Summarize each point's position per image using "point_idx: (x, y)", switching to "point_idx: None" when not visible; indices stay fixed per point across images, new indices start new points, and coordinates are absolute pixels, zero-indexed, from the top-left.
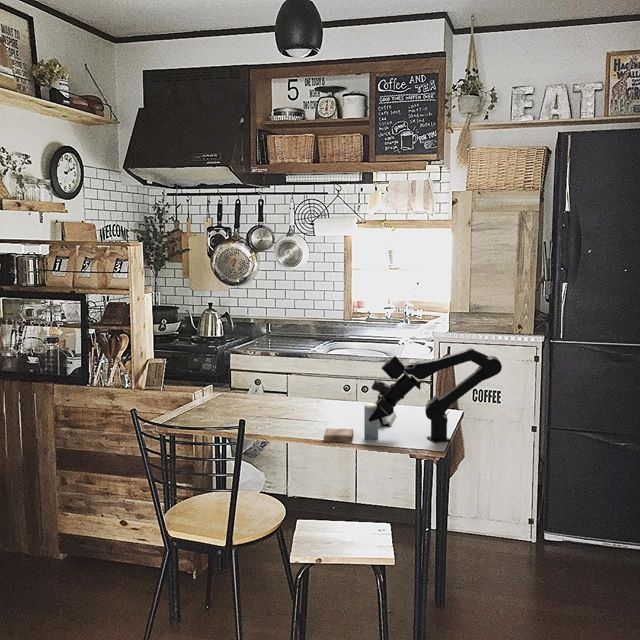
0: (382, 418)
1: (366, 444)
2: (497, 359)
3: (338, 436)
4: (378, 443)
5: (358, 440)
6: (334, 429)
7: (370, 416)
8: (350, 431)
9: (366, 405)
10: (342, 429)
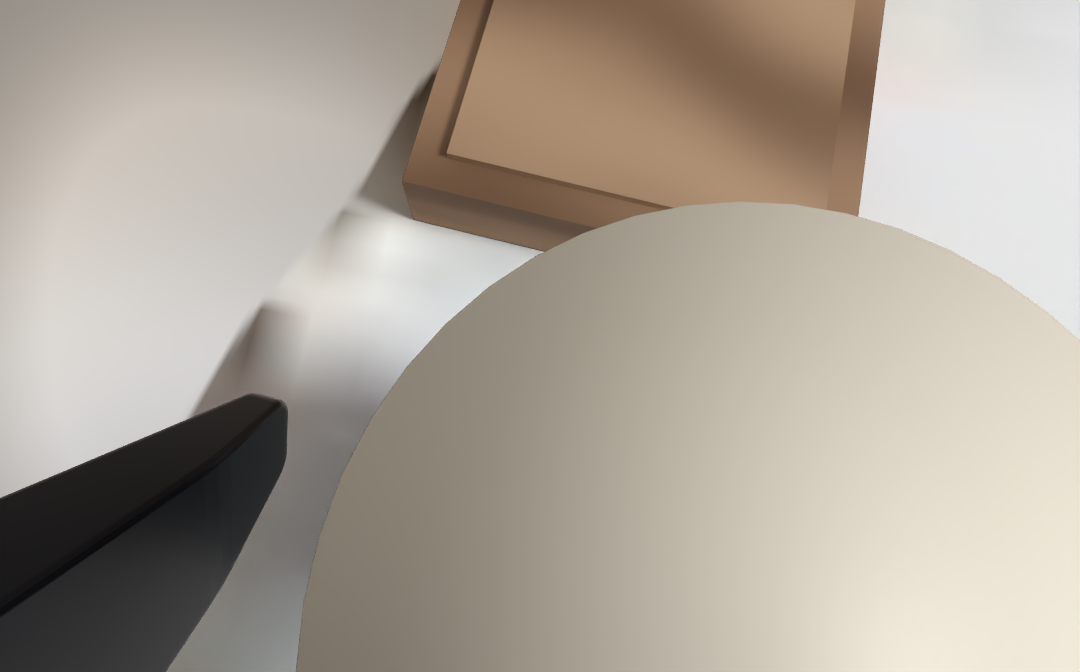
0: None
1: (224, 394)
2: None
3: (460, 7)
4: (227, 601)
5: None
6: (810, 5)
7: (189, 451)
8: (668, 204)
9: (811, 327)
10: (801, 111)
